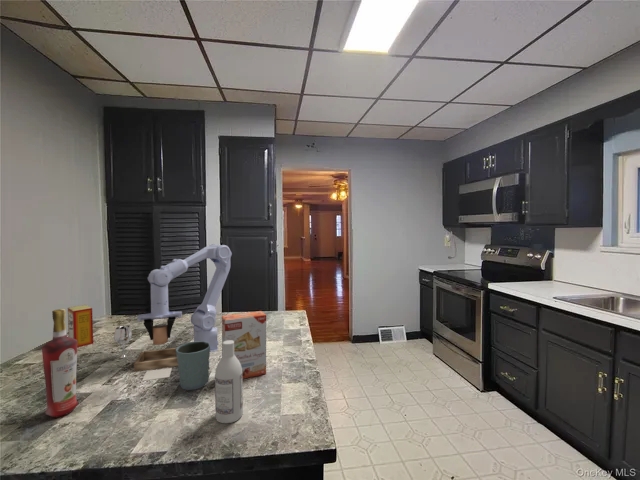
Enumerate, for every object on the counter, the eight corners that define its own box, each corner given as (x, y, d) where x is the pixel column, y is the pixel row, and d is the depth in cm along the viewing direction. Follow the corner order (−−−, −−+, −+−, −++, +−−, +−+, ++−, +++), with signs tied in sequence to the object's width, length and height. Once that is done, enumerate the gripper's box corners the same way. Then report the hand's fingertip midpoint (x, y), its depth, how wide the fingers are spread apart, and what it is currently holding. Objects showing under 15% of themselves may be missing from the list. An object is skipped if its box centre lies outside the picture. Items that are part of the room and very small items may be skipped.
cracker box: (225, 384, 98) (224, 319, 97) (221, 376, 104) (221, 315, 103) (267, 374, 105) (266, 314, 104) (262, 367, 110) (261, 309, 109)
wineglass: (123, 361, 115) (122, 330, 115) (110, 360, 116) (110, 329, 116) (135, 355, 121) (135, 325, 120) (123, 354, 122) (122, 324, 121)
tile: (172, 369, 108) (171, 367, 108) (169, 378, 102) (169, 376, 102) (146, 372, 106) (146, 371, 106) (142, 382, 99) (141, 380, 99)
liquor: (69, 402, 88) (66, 305, 87) (85, 407, 85) (82, 308, 84) (38, 416, 81) (34, 312, 80) (54, 423, 79) (50, 315, 78)
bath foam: (233, 405, 86) (232, 335, 86) (248, 415, 82) (247, 341, 81) (210, 417, 81) (209, 342, 80) (225, 428, 76) (224, 349, 76)
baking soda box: (68, 342, 134) (67, 306, 134) (86, 338, 139) (85, 304, 139) (74, 348, 128) (73, 310, 128) (93, 343, 133) (92, 307, 133)
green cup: (217, 378, 102) (216, 342, 102) (195, 393, 92) (194, 354, 92) (192, 373, 105) (192, 339, 105) (169, 388, 96) (168, 350, 95)
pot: (169, 339, 116) (168, 322, 116) (167, 343, 112) (166, 326, 112) (154, 340, 115) (153, 324, 115) (151, 345, 110) (151, 328, 110)
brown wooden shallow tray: (184, 354, 121) (184, 346, 121) (181, 366, 111) (181, 357, 111) (141, 360, 116) (141, 351, 116) (134, 372, 106) (134, 363, 106)
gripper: (134, 306, 107) (135, 344, 107) (180, 302, 111) (180, 339, 112) (139, 301, 113) (140, 337, 114) (182, 298, 118) (182, 333, 119)
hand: (160, 338), depth 113 cm, fingers closed on pot, 5 cm apart
